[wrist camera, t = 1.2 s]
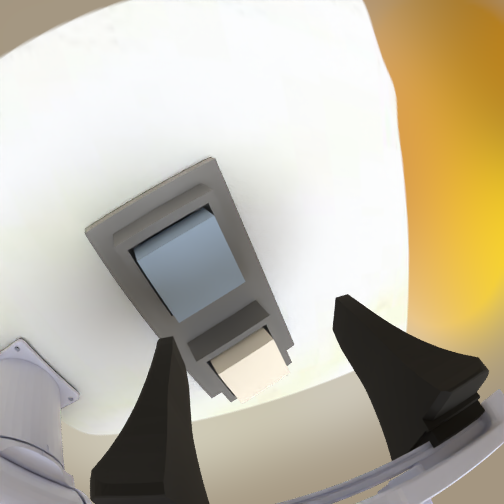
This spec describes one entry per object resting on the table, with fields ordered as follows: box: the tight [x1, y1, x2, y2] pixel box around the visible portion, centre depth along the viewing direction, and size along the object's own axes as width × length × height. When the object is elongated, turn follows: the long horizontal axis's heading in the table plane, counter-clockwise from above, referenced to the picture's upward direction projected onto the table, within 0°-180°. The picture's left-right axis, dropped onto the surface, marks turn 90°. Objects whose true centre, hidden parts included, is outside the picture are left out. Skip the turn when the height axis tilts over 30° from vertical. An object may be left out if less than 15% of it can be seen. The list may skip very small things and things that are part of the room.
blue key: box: [134, 208, 245, 323], centre depth 19 cm, size 5×5×2 cm
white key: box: [210, 327, 290, 404], centre depth 25 cm, size 5×5×2 cm
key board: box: [85, 157, 294, 402], centre depth 24 cm, size 10×20×4 cm, turn 24°
